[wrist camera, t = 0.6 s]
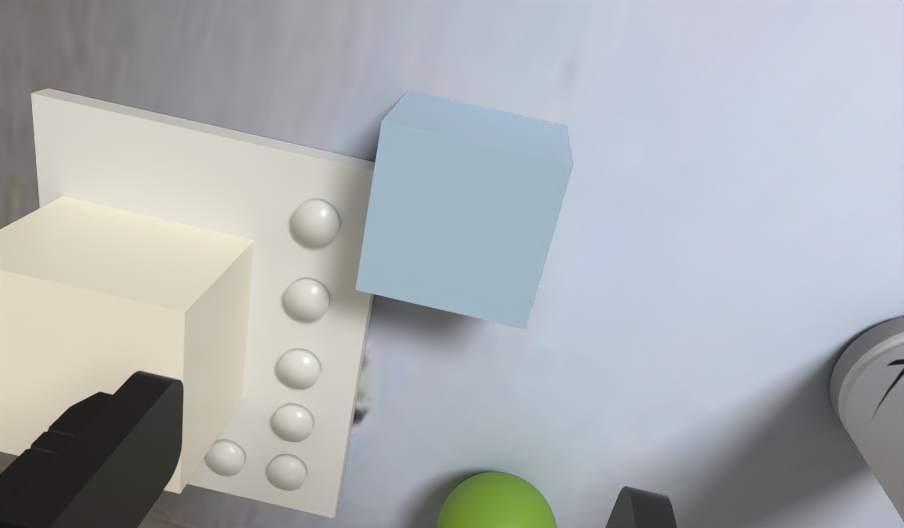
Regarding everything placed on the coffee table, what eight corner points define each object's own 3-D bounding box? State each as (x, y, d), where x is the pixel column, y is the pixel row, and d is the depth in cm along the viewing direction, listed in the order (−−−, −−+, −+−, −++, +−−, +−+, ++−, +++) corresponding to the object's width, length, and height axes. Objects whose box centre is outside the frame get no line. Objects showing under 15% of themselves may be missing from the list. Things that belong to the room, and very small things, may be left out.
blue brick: (409, 89, 25) (381, 120, 21) (566, 124, 25) (573, 164, 21) (384, 234, 28) (355, 289, 24) (527, 266, 28) (525, 329, 24)
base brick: (62, 196, 28) (-53, 257, 22) (254, 240, 28) (184, 312, 22) (72, 358, 31) (-26, 445, 26) (242, 398, 31) (180, 494, 26)
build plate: (48, 88, 27) (22, 96, 26) (395, 166, 27) (387, 178, 25) (71, 440, 35) (52, 460, 33) (339, 503, 34) (331, 526, 33)
